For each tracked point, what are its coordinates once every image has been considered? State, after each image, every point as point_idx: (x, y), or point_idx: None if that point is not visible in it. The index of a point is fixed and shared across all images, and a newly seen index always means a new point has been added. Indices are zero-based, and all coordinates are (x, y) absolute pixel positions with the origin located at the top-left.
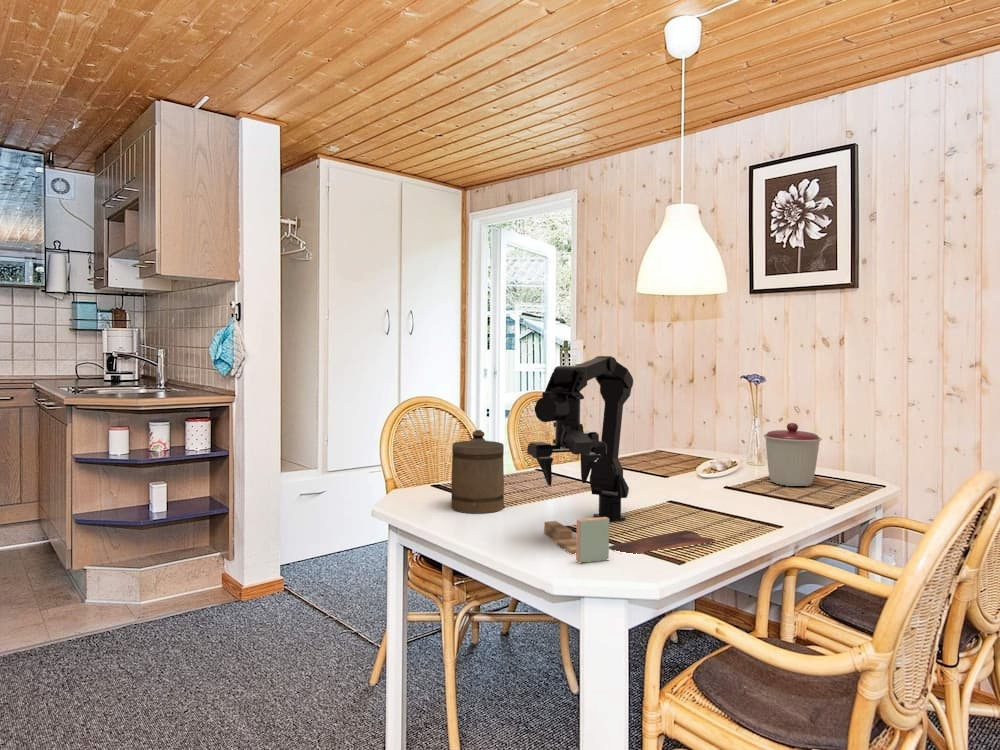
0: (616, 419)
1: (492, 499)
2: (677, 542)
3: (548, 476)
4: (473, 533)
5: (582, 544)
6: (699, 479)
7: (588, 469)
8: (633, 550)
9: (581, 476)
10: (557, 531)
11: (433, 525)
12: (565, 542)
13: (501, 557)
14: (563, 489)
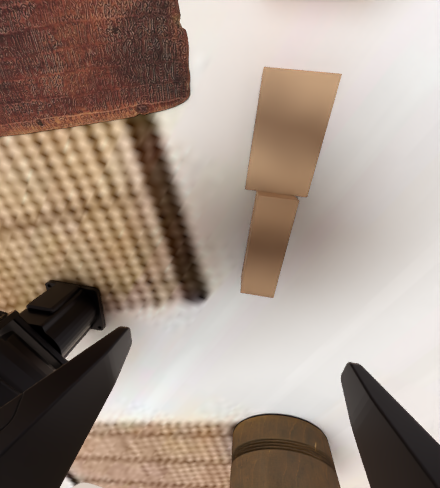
0: None
1: (278, 445)
2: None
3: (425, 432)
4: (411, 343)
5: None
6: None
7: (34, 403)
8: (134, 11)
9: (115, 379)
10: (292, 219)
11: (434, 408)
12: (302, 160)
13: None
14: (93, 441)
